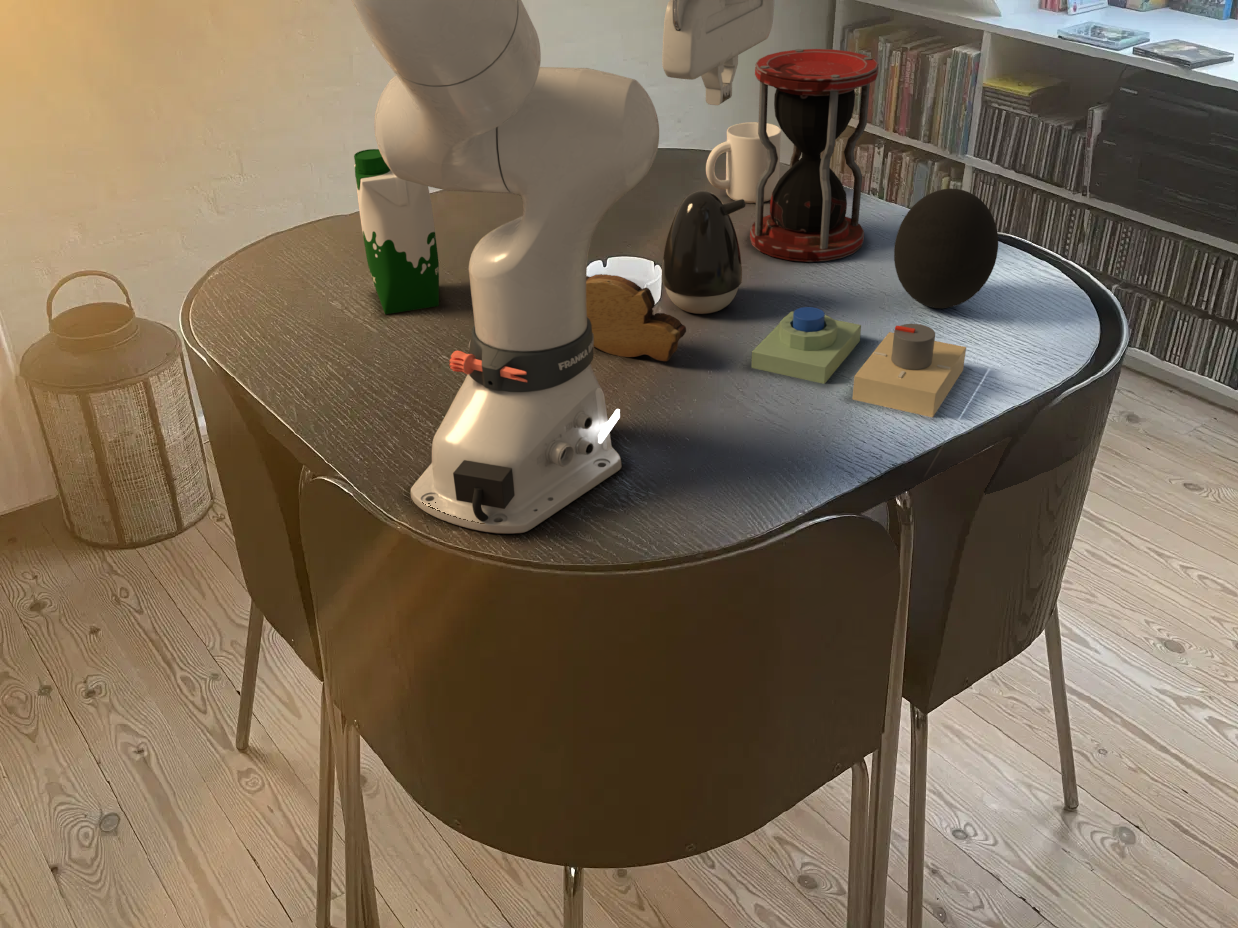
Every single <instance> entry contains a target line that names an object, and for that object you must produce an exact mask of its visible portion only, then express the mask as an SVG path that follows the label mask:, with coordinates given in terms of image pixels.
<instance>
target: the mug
mask: <svg viewBox="0 0 1238 928" xmlns="http://www.w3.org/2000/svg"><path fill="white" fill-rule="evenodd" d="M758 122H759V121H757V122H755V121H753V122H752V121H749V122H741V123H736V124H733V125H730V126H729V127H728V128H727V129H726V140H725V141H723V142H721V143H719V144H717V145H716V146H715V147H714V148H713V149H712V150H711V151H710V152H709V155H708V157H707V160H706V163H705V176H706V178H707V180H708V182H709V184H711V186H712V187H714V188H715V189H718V190H725V193H726V195H727V196H728V197H729V198H730V199H731V200H733V201H737V200H740V199H743V200H744V201H745V204H756V186H757V184H758V181H759V178H760V176H761V175H762V174H763V173H764V171H765V170H766V167H767V163H768V154H767V149H766V148H765V146H764V145H763V144H762V143H761V141H760V138H759V135H758ZM766 132H767V134H768V137H769V140H770V141H771V142H772V144H773V145H774V146H775V147H776V151H777V156H778V161H777V164H776V168H775V171H774V173H773V174H772V175H771V176H770V177H769V178H768V180H767V183H766V185H765V187H764V203H765V202H770V201H771V196H772V192H773V190H774V188H775V186H776V184H777V182H778V181H779V179H780V168H781V167H780V165H781V146H782V145H781V144H782V143H781V142H782V130H781V128H780V126H779V125H778V126H777V125H775V124H774V123H768V122H767V129H766ZM724 153H726V157H725V179H719V178H717V175H716V171H715V168H716V167H715V166H716V162H717V160H718V158H719V157H720V156H721V155H722V154H724Z"/></svg>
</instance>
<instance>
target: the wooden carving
mask: <svg viewBox="0 0 1238 928" xmlns="http://www.w3.org/2000/svg"><path fill="white" fill-rule="evenodd" d="M655 305H656V302H655V298H654V295H653V293H652V291H651V289H650V288H649V287H643V288H642V287H641V286H639V285H638V284H637V283H636V282H635V281H632V280H630V279H627V278H625V277H623V276H619V275H612V274H607V273H606V274H605V273H604V274H602V273H600V274H594V275H591V276H588V275H586V306H587V317H588V318H589V320H590V322H591V326H592V333H593V336H594V346H593V348H596V349H597V350H600V351H601V352H604V353H607V354H610V355H613V356H617V357H623V358H635V357H640V356H644V355H646V356H648V357H650V358H652V359H654V360H656V361H660V362H669V361H670V360H671V358H672V356H673V355H674V353H676V351H678V346H679V341H680V340H681V339H682V338H683V337H684V336H685V335H686V332H687V327H686V326H685V324H682V322H681V321H680V320H679V319H677V318H676V317H674V316H672V315H671V314H667V313H664V312H656V313H655V314H654V309H653V308H654V307H655Z"/></svg>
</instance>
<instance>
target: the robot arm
mask: <svg viewBox="0 0 1238 928" xmlns="http://www.w3.org/2000/svg"><path fill="white" fill-rule="evenodd" d="M351 3H352V5H353V8H354V10H355V13H356V14H357V17H358V18H359V20H360V22H361V24H362V27H363V28H364V30H365V32H366V34H367V35H368V37H369V39H370V40H371V42H372V43H373V45H374V47H375V49H376V50H377V51H378V53H379V55H381V57H382V59H383V60H384V61H385V62H386V64H387V65H388V66H389V67H390V69H391V71H392V72H393V73H394V76H393V77H392V78H391V79H390V80H389V81H388V83H387V84H386V86H385V87H384V89H383V90H382V92H381V94H380V96H379V99H378V101H377V105H376V108H375V113H374V124H373V125H374V137H375V141H376V145H377V149H379V151H380V153H381V155H382V157H383V159H384V161H385V163H386V164H387V166H388V167H389V169H390V170H391V171H392V172H393V173H394V174H395V175H396V176H397V177H398V178H400V179H403V180H406V181H410V182H414V183H417V184H421V185H425V186H428V188H434V189H438V190H442V191H447V192H467V193H489V194H491V193H492V194H513V195H517V196H520V198H521V201H522V215H520V216H518V217H517V218H514V219H512V220H510V221H507V222H505V223H503V224H501V225H500V226H499V225H498V227H495V229H493V230H491V231H489V232H487V234H485V235H484V236H483V237H482V238H481V239H480V240H479V241H478V242H477V243H476V245H475V246H474V248H473V249H472V252H471V254H470V258H469V262H468V275H469V277H468V278H469V285H470V294H471V295H470V296H471V305H472V312H473V322H474V325H473V327H472V329H471V334H470V340H469V343H468V353H465V352H464V351H461V350H455V351H453V352H452V353H451V355H450V358H449V368H450V370H452V372H457V373H464V374H465V375H466V376H465V378H464V381H463V382H462V384H461V385H460V387H459V389H458V391H457V392H456V395H455V397H454V398H453V400H452V402H451V405H450V406H449V408H448V409H447V412H446V413H445V416H444V418H443V419H442V421H441V423H440V424H439V426H438V429H437V430H436V432H435V433H434V436H433V439H432V442H431V443H432V444H431V463H430V464H429V465H428V466H427V468H425V470H424V472H423V473H422V474H421V475H420V477H418V479H417V480H416V481H415V482H414V484H413V485H412V486H411V487H410V499H411V500H412V502H413V503H414V504H415V505H416V506H417V507H418V508H419V509H420V510H422V511H423V512H425V513H427V514H429V515H430V516H432V517H434V518H437V519H439V520H441V521H444V522H447V523H449V524H453V525H456V526H459V527H463V528H466V529H470V530H475V531H479V532H485V533H492V534H523V533H526V532H529V531H530V530H532V529H533V528H535V527H536V526H539V525H540V524H541V523H543V522H544V521H545V520H547V519H548V518H550V517H552V516H554V515H555V514H556V513H558V512H560V510H562V509H563V508H565V507H567V506H568V505H569V504H571V503H573V502H574V501H575V500H577V499H578V498H580V497H581V496H583V495H584V494H586V493H587V492H589V491H590V490H592V489H594V488H595V487H596V486H599V485H600V484H601V483H603V482H604V481H605V480H608V478H610V477H611V476H613V475H614V474H617V472H618V471H620V470H621V469H622V467H623V465H622V460H621V456H620V454H619V453H618V452H617V450H615V449H614V447H613V446H612V440H611V433H610V432H611V431H612V430H613V428H614V426H615V425H616V424H617V422H618V420H619V419H620V418H621V413H620V412H621V409H619V408H616V409H615V410H614V412H613V414H612V415H611V416H610V418H608V411H607V405H606V399H605V393H604V391H603V388H602V386H601V384H600V382H599V381H598V380H599V379H598V378H597V376H596V374H595V371H594V367H593V365H592V362H593V360H594V356H595V355H594V353H595V352H594V336H593V333H592V326H591V322H590V320H589V318H588V317H587V306H586V276H587V272H588V271H587V270H588V269H587V268H588V256H589V250H590V246H591V243H592V239H593V236H594V234H595V232H596V230H597V228H598V226H599V224H600V222H601V221H602V219H603V218H604V217H605V215H606V213H608V211H609V210H610V209H611V208H612V207H613V205H614V204H615V203H617V202H618V201H619V200H620V199H621V198H622V197H624V196H625V195H626V194H628V193H629V192H630V191H632V190H634V189H635V188H636V187H637V186H638V185H639V184H640V183H641V182H642V181H643V180H644V178H645V177H646V176H647V174H648V173H649V171H650V169H651V167H652V166H653V163H655V162H654V161H655V159H656V157H657V153H658V149H659V142H660V122H659V118H658V117H659V116H658V114H657V110H656V108H655V105H654V103H653V100H652V99H651V97H650V95H649V93H648V92H647V91H646V89H645V87H643V85H642V84H641V83H640V82H639V81H638V80H637V79H634V78H630V77H627V76H623V75H620V74H615V73H611V72H607V71H603V70H598V69H594V68H589V67H559V66H541V61H542V60H541V59H542V55H541V54H542V53H541V43H540V38H539V34H538V32H537V30H536V27H535V25H534V24H533V21H532V19H531V17H530V15H529V13H528V11H527V9H526V7H525V5H524V3H523V1H522V0H351ZM775 4H776V0H669V1H668V2H667V5H666V8H665V13H664V19H663V20H664V21H663V34H662V51H661V55H662V60H661V62H662V63H661V65H662V69H663V71H664V74H665V76H666V77H668V78H673V79H678V80H679V79H680V80H696V79H698V78H700V77H701V80H702V82H703V85H704V88H705V102H706V104H707V105H711V106H720V105H722V104H724V102H726V101H727V100H729V99H731V98H732V96H733V82H734V79H735V76H736V72H737V69H738V65H739V55H741V54H743V53H745V52H746V51H748V50H749V49H752V48H753V47H755V46H758V45H759V44H761V43H763V42H764V41H766V40H767V39H768V38H769V36H770V34H771V32H772V27H773V23H774V15H775V6H776V5H775ZM422 502H423V503H424V504H423V503H422ZM435 502H436V503H435ZM428 503H430V504H428ZM425 504H426V505H425ZM430 505H431V506H430ZM428 506H430V507H433V508H435V509H436V510H435V509H432V508H430V507H428ZM437 508H438V509H437ZM437 510H440V511H441V512H439V511H437ZM442 512H445V513H446V514H444V513H442ZM447 514H449V515H447ZM450 515H451V516H450ZM453 516H456V517H457V518H456V517H453ZM459 518H461V519H459ZM463 519H466V520H463ZM467 520H468V521H467ZM472 520H473V521H475V522H479V523H475V522H471V521H472ZM480 523H485V524H480Z"/></svg>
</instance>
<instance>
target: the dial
mask: <svg viewBox="0 0 1238 928" xmlns="http://www.w3.org/2000/svg"><path fill="white" fill-rule="evenodd" d="M893 333H894V338H893V348H892V357H891V360H892V362H893V363H894V364H895V365H896V366H898V367H901V368H904V369H909V370H920V369H924V368H927V367H929V366H930V365H931V363H932V357H933V349H934V341H936V332H935V330H934V329H933V328H931V327H929V326H927V325H924V324H919V323H905V324H901V325H895V327H894V330H893Z"/></svg>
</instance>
